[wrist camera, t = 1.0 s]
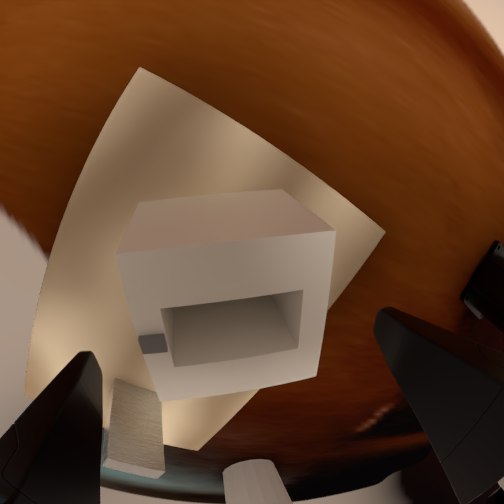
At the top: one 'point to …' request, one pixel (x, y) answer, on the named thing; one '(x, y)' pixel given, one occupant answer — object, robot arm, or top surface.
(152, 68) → the top surface
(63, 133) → the top surface
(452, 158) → the top surface
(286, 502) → the shot glass
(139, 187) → the maple board
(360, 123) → the top surface
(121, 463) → the post
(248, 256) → the box
